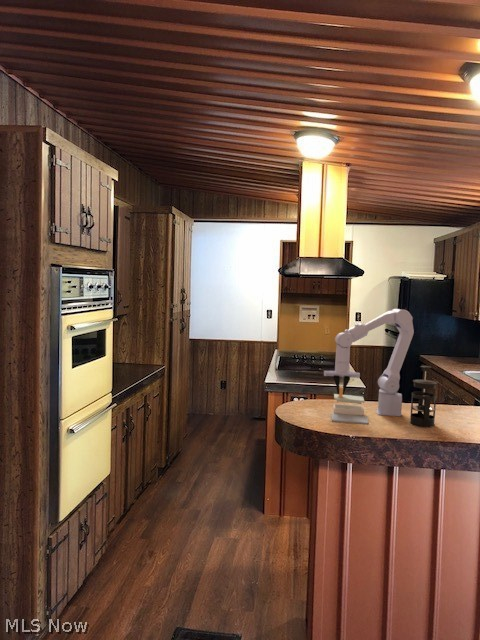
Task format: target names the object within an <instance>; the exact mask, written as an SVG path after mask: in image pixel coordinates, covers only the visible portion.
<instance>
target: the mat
mask: <svg viewBox="0 0 480 640" xmlns="http://www.w3.org/2000/svg"><path fill="white" fill-rule="evenodd" d="M330 415H331V422H334V421H335V422H338V423H347V424H348V423H349V424H362V425H369V424H370V423H369V420H368V416H366V415H364V416H356V415H343V414H334V413H331V414H330Z"/></svg>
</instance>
